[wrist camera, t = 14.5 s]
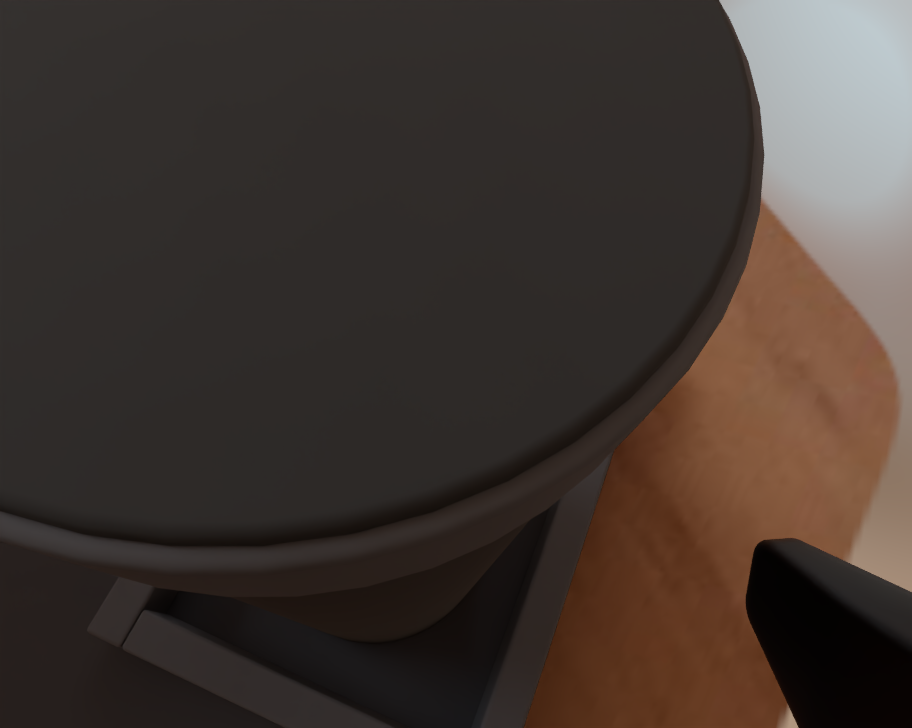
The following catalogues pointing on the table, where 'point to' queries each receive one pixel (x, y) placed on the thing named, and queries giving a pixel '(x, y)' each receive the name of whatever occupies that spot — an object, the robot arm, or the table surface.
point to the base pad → (279, 647)
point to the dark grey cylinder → (350, 279)
